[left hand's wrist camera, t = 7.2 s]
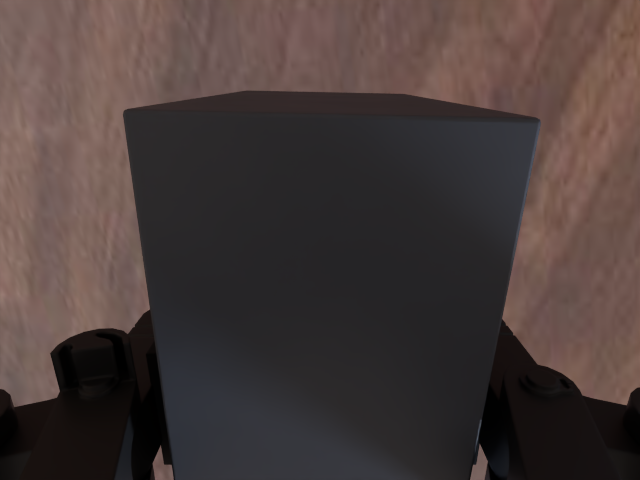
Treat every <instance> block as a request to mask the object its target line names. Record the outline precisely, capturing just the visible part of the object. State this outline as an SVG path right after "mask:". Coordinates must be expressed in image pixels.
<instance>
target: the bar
mask: <svg viewBox="0 0 640 480" xmlns="http://www.w3.org/2000/svg"><path fill="white" fill-rule="evenodd" d="M123 117H124V125H125V132H126V139H127V146H128V153H129V161H130V168H131V175H132V182H133V189H134V196H135V204H136V211H137V218H138V225H139V232H140V239H141V247H142V254H143V261H144V268H145V275H146V283H147V290H148V297H149V304H150V311H151V318H152V326H153V333H154V340H155V347H156V354H157V361H158V369H159V376H160V383H161V390H162V397H163V405H164V412H165V419H166V426H167V433H168V440H169V448H170V455H171V462H172V469H173V476H174V480H470V477H471V472H472V467H473V462H474V457H475V452H476V446H477V441H478V436H479V431H480V426H481V421H482V416H483V411H484V406H485V401H486V396H487V391H488V386H489V381H490V376H491V371H492V366H493V361H494V356H495V351H496V346H497V341H498V336H499V331H500V326H501V321H502V316H503V311H504V306H505V301H506V296H507V290H508V285H509V280H510V275H511V270H512V265H513V260H514V255H515V250H516V245H517V240H518V235H519V230H520V225H521V220H522V215H523V210H524V205H525V200H526V195H527V190H528V185H529V180H530V175H531V170H532V165H533V160H534V155H535V150H536V145H537V139H538V134H539V129H540V124H541V123H540V119H538V118H535V117H530V116H524V115H518V114H513V113H507V112H502V111H496V110H490V109H485V108H479V107H474V106H468V105H462V104H457V103H451V102H446V101H440V100H434V99H429V98H423V97H418V96H412V95H406V94H378V93H331V92H284V91H241V92H235V93H228V94H222V95H215V96H209V97H203V98H196V99H190V100H183V101H177V102H170V103H164V104H157V105H151V106H144V107H138V108H131V109H127V110H125V111H124V113H123Z"/></svg>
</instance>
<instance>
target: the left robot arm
mask: <svg viewBox="0 0 640 480" xmlns="http://www.w3.org/2000/svg"><path fill="white" fill-rule="evenodd" d="M50 354H51V358H52V362H53V366H54V370H55V374H56V377H57V381H58V385H59V389H60V393H59V395H58V397H57V398H54V399H51V400H47V401H42V402H37V403H32V404H28V405H23V406H18V407H14V406H13V402H12V399H11V396H10V394H8V393H7V392H6V391H5V390H2V389H0V480H155V476H154V470H153V464H152V463H153V461H154V459H155V457H156V454H157V452H158V450H159V448H160V445H161V448H162V454H163V460H164V465H172V462H171V455H170V448H169V440H168V433H167V426H166V419H165V412H164V405H163V397H162V390H161V383H160V376H159V369H158V361H157V354H156V347H155V340H154V333H153V326H152V318H151V311H150V310H149V311H147V312H145V313H144V314H143V315H142V317H141V318H140V319H139V320H138V322H137V323H136V324H135V327H133V328H132V330H131V331H130V332H129V333H128V334H127V333H125V332H124V331H122V330H117V329H113V328H110V329H96V330H91V331H86V332H83V333H80V334H78V335H75V336H73V337H70V338H68V339H67V340H65V341H63V342H62V343H60V344H59V345H57V346H56V348H55V349H54V350H53V351H52V352H51V353H50ZM479 444H480V445H481V447H482V449H483V451H484V454H485V456H486V458H487V460H488V464H487V470H486V475H485V480H640V388H636V389H635V390H634V391H633V392H632V393H631V394H630V397H629V401H628V404H627V405H622V404H617V403H612V402H607V401H603V400H598V399H593V398H589V397H586V396H582V394H581V392H580V390H579V389H578V387H577V386H576V385H575V384H574V382H573V381H572V380H570V379H569V378H567V377H566V376H565V375H563V374H562V373H560V372H557V371H555V370H553V369H551V368H549V367H545V366H541V365H537V363H536V362H535V361H534V360H533V358H532V357H531V356H530V354H529V353H528V352H527V351H526V349H525V348H524V347H523V345H522V344H521V343H520V341H519V340H518V339H517V338H516V336H513V332H512V331H511V330H510V329H509V327H508V326H506V323H505V322H504V321H503V320H502V321H501V326H500V331H499V336H498V341H497V346H496V351H495V356H494V361H493V366H492V371H491V376H490V381H489V386H488V391H487V396H486V401H485V406H484V411H483V416H482V421H481V426H480V431H479V436H478V441H477V446H476V452H475V457H474V462H473V465H476V462H477V456H478V450H479Z"/></svg>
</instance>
